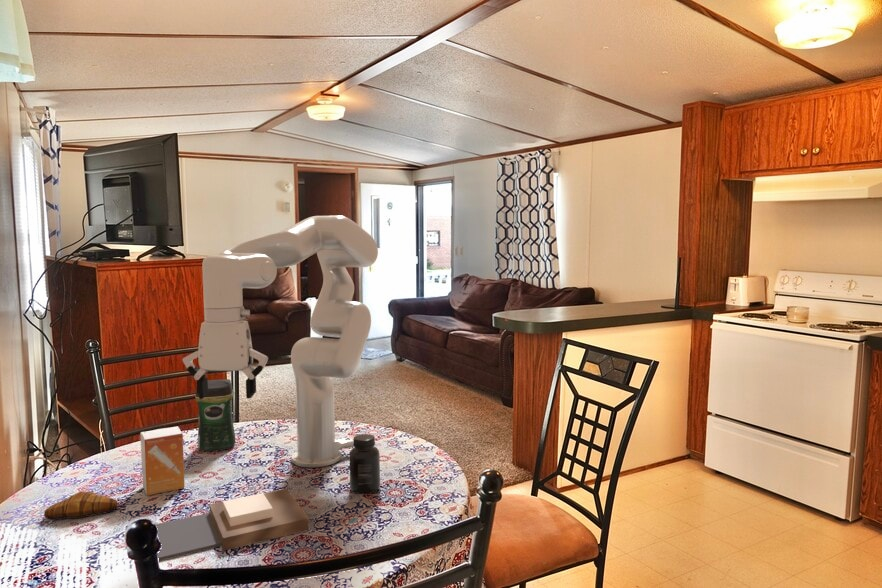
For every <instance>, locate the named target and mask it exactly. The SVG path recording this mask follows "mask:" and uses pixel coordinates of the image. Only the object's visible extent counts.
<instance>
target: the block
mask: <svg viewBox="0 0 882 588" xmlns="http://www.w3.org/2000/svg"><path fill="white" fill-rule="evenodd" d="M222 502H223V511H224V513H225V515H226V518H227V520H228V522H229V524H230V527H231V526H235V525H239V524H244V523H248V522H253V521H257V520H262V519H266V518H270V517H273V508H272V506H271V505H270V503H269V502H268V500H267V498H266V497H265V495H264V494H263V493H256V494H252V495H247V496H243V497H237V498H232V499H228V500H223V501H222Z"/></svg>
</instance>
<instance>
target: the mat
mask: <svg viewBox="0 0 882 588" xmlns="http://www.w3.org/2000/svg"><path fill="white" fill-rule="evenodd" d="M155 524H156V523H155ZM156 526H157V528H158V532H159V533H158V537H159V540H160V542H161V544H162V549H161V551H160V552H159V554H158V558H159V561H158V562H160V561H163V560H168V559H172V558H177V557H182V556H184V555H189V554H194V553H197V552H198V553H199V552H202V551H205V550H206V551H207V550H211V549H215V548H219V547H222V543H221V540H220V537H219V535H218V532H217V530H216V527H215V525H214V522H213V520H212V517H211V515H210V512H208V513H203V514H198V515H192V516H188V517H183V518H180V519H174V520H169V521H165V522H160V523H157V524H156Z"/></svg>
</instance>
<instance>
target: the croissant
mask: <svg viewBox="0 0 882 588" xmlns="http://www.w3.org/2000/svg"><path fill="white" fill-rule="evenodd" d="M118 506H119V504H118V501H117V500H116V499H114V498H112V497H109V496H105V495H101V494H96V493H95V492H93V491H85V490H84V491H83V490H82V491H81V490H80V491H79V492H77V493H75V494H72V495H70V496H69V497H68V498H64V499H63V500H61V501H60V500H59V501H58V502H56V503H53V504H52V505H50V506H49V507H47V508H46V509H45V510H44V513H43V515H44V518H46V519H48V520H49V519H51V520H55V519H57V520H58V519H59V520H60V519H79V518H85V517H89V516H95V515H101V514H106V513H110V512H113V511H116V510H117V509H118Z"/></svg>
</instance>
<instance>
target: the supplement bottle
mask: <svg viewBox="0 0 882 588" xmlns="http://www.w3.org/2000/svg"><path fill="white" fill-rule="evenodd" d="M352 441H353V447H352V448H351V450H350V451H349V456H348V457H349V488H350V490H351V491H352V492H353V493H356V494H360V495H362V494H363V495H364V494H371V493H374V492H377V491H378V490H379V488H380V487H381V469H380V468H381V467H380V466H381V465H380V464H381V463H380V461H381V460H380V451H379V448H378V447H376V446H375V445H376V439H375V435H373V434H368V433H363V434H356V435H355V436H354V437H353V439H352Z"/></svg>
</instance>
